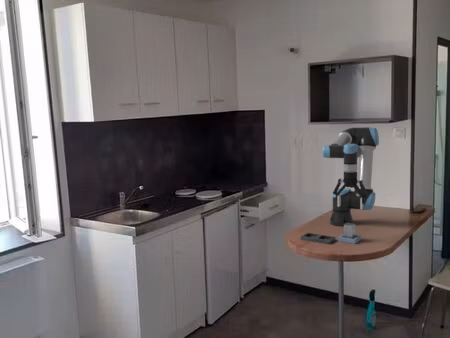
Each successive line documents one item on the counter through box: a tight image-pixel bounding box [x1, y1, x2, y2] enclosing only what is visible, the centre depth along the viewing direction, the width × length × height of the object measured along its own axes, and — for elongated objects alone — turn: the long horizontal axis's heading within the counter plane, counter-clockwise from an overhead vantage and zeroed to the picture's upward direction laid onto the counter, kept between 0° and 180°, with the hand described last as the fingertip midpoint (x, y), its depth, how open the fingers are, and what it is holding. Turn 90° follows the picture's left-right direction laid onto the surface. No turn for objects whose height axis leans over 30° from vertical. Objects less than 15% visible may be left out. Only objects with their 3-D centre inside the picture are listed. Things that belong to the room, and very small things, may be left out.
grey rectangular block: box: [343, 223, 356, 239], centre depth 263 cm, size 5×5×9 cm
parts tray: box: [337, 233, 362, 245], centre depth 263 cm, size 10×10×2 cm
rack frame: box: [300, 232, 337, 245], centre depth 266 cm, size 9×18×2 cm, turn 53°
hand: (350, 207), depth 261 cm, fingers open, 13 cm apart
